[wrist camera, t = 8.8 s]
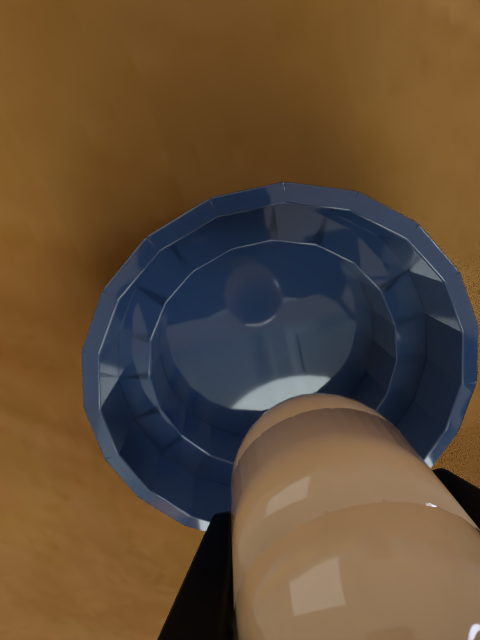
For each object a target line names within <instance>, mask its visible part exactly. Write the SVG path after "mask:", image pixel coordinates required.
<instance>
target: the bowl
mask: <svg viewBox="0 0 480 640" xmlns="http://www.w3.org/2000/svg"><path fill="white" fill-rule="evenodd" d="M477 358H478V323H477V320H476V317H475V314H474V312H473V309H472V306H471V303H470V300H469V297H468V294H467V291H466V288H465V285H464V282H463V279H462V276H461V273H460V272H459V271H458V269H457V268H456V267H455V265H454V264H453V263H452V262H451V261H450V260H449V258H448V257H447V256H446V255H445V254H444V253H443V251H442V250H441V249H440V248H439V247H438V246H437V244H436V243H435V242H434V241H433V240H432V239H431V237H430V236H429V235H428V234H427V233H426V232H425V230H424V229H423V228H422V227H421V226H420V225H419V224H418V223H417V222H415V221H414V220H412V219H410V218H408V217H406V216H404V215H402V214H400V213H398V212H397V211H395V210H393V209H391V208H389V207H387V206H385V205H383V204H381V203H379V202H378V201H376V200H374V199H372V198H370V197H368V196H366V195H364V194H362V193H361V192H356V191H354V190H346V189H339V188H331V187H323V186H315V185H307V184H300V183H292V182H279V183H275V184H270V185H265V186H261V187H256V188H251V189H247V190H242V191H238V192H233V193H228V194H224V195H219V196H214V197H211V198H210V199H206V200H205V201H203V202H202V203H200V204H198V205H197V206H195V207H193V208H192V209H190V210H188V211H187V212H185V213H183V214H182V215H180V216H179V217H177V218H175V219H174V220H172V221H170V222H169V223H167V224H165V225H164V226H162V227H160V228H159V229H157V230H156V231H154V232H152V233H151V234H149V235H148V236H147V237H146V238H144V239H143V241H142V242H141V243H140V244H139V246H138V247H137V248H136V249H135V250H134V252H133V253H132V254H131V255H130V257H129V258H128V259H127V260H126V262H125V263H124V264H123V265H122V266H121V268H120V269H119V270H118V271H117V273H116V274H115V275H114V276H113V278H112V279H111V280H110V281H109V282H108V284H107V285H106V286H105V287H104V289H103V291H102V292H101V295H100V298H99V301H98V304H97V307H96V310H95V313H94V316H93V319H92V322H91V325H90V328H89V331H88V334H87V336H86V339H85V342H84V345H83V348H82V376H83V403H84V409H85V413H86V415H87V417H88V420H89V422H90V425H91V427H92V430H93V432H94V434H95V437H96V439H97V442H98V444H99V446H100V449H101V451H102V454H103V456H104V458H105V460H106V461H107V462H108V464H109V465H110V466H111V467H112V468H113V469H114V470H115V471H116V473H117V474H118V475H119V476H120V477H121V478H122V479H123V480H124V482H125V483H126V484H127V485H128V486H129V487H130V488H131V489H132V491H133V492H134V493H135V494H136V495H137V496H138V497H139V498H140V499H141V500H143V501H145V502H146V503H148V504H149V505H151V506H153V507H154V508H156V509H158V510H159V511H161V512H163V513H164V514H166V515H168V516H169V517H171V518H172V519H174V520H176V521H177V522H179V523H181V524H182V525H184V526H188V527H191V528H195V529H198V530H202V531H205V532H206V530H207V528H208V526H209V523H210V521H211V519H212V517H213V515H215V514H216V513H221V512H226V511H230V512H231V504H230V487H231V478H232V469H233V463H234V461H235V458H236V455H237V452H238V449H239V447H240V444H241V442H242V440H243V438H244V437H245V435H246V433H247V432H248V430H249V429H250V427H251V426H252V425H253V424H254V423H255V422H256V421H257V420H258V419H259V418H260V417H261V416H262V415H263V414H264V413H265V412H266V411H268V410H269V409H270V408H272V407H273V406H274V405H276V404H278V403H280V402H282V401H284V400H286V399H288V398H291V397H295V396H299V395H302V394H311V393H326V394H336V395H340V396H344V397H349V398H352V399H355V400H357V401H359V402H361V403H363V404H365V405H367V406H369V407H371V408H373V409H374V410H376V411H378V412H379V413H380V414H381V415H383V416H384V417H385V418H387V419H388V420H389V421H390V422H391V423H392V424H393V425H394V426H395V427H396V428H397V429H398V430H399V431H400V432H401V433H402V434H403V435H404V436H405V437H406V439H407V440H408V441H409V442H410V444H411V445H412V446H413V447H414V448H415V450H416V451H417V452H418V453H419V455H420V456H421V457H422V458H423V460H424V461H425V462H426V463H427V465H428V466H429V467H430V468H432V467H433V465H434V464H435V463H436V461H437V460H438V459H439V457H440V456H441V455H442V453H443V452H444V451H445V449H446V448H447V447H448V445H449V444H450V443H451V441H452V440H453V439H454V437H455V436H456V435H457V432H458V431H459V428H460V426H461V423H462V420H463V418H464V415H465V412H466V410H467V407H468V404H469V402H470V399H471V396H472V394H473V391H474V388H475V386H476V381H477Z"/></svg>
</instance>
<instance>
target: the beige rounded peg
mask: <svg viewBox="0 0 480 640" xmlns="http://www.w3.org/2000/svg"><path fill="white" fill-rule="evenodd" d="M230 504H231V534H232V566H233V602H234V622H235V630H236V638H237V640H480V529H479V528H478V527H477V525H476V524H475V523H474V522H473V520H472V519H471V518H470V517H469V516H468V514H467V513H466V512H465V511H464V509H463V508H462V507H461V506H460V504H459V503H458V502H457V501H456V499H455V498H454V497H453V496H452V494H451V493H450V492H449V491H448V489H447V488H446V487H445V486H444V484H443V483H442V482H441V481H440V480H439V478H438V477H437V476H436V475H435V473H434V472H433V471H432V470H431V468H430V467H429V466H428V465H427V463H426V462H425V461H424V460H423V458H422V457H421V456H420V455H419V453H418V452H417V451H416V450H415V448H414V447H413V446H412V445H411V444H410V442H409V441H408V440H407V439H406V437H405V436H404V435H403V434H402V433H401V432H400V431H399V430H398V429H397V428H396V427H395V426H394V425H393V424H392V423H391V422H390V421H389V420H388V419H387V418H385V417H384V416H383V415H381V414H380V413H379V412H378V411H376V410H374V409H373V408H371V407H369V406H367V405H365V404H363V403H361V402H359V401H357V400H355V399H352V398H349V397H344V396H340V395H336V394H326V393H311V394H302V395H299V396H295V397H291V398H288V399H286V400H284V401H282V402H280V403H278V404H276V405H274V406H273V407H272V408H270V409H269V410H268V411H266V412H265V413H264V414H263V415H262V416H261V417H260V418H259V419H258V420H257V421H256V422H255V423H254V424H253V425H252V426H251V427H250V429H249V430H248V432H247V433H246V435H245V437H244V438H243V440H242V442H241V444H240V447H239V449H238V452H237V455H236V458H235V461H234V463H233V469H232V478H231V487H230Z"/></svg>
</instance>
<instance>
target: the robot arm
mask: <svg viewBox="0 0 480 640" xmlns="http://www.w3.org/2000/svg"><path fill="white" fill-rule="evenodd" d="M432 471H433V472H434V473H435V475H436V476H437V477H438V478H439V480H440V481H441V482H442V483H443V484H444V486H445V487H446V488H447V489H448V491H449V492H450V493H451V494H452V496H453V497H454V498H455V499H456V501H457V502H458V503H459V504H460V506H461V507H462V508H463V509H464V511H465V512H466V513H467V514H468V516H469V517H470V518H471V519H472V520H473V522H474V523H475V524H476V525H477V527H478V528H479V529H480V489H479V488H478V487H476V486H474V485H472V484H471V483H469V482H467V481H465V480H464V479H462V478H460V477H459V476H457V475H455V474H453V473H452V472H450V471H448V470H446V469H442V468H441V469H435V470H432ZM157 640H237V638H236V630H235V622H234V602H233V566H232V534H231V512H230V511H226V512H221V513H216V514H215V515H213V517H212V519H211V521H210V523H209V526H208V528H207V530H206V532H205V534H204V537H203V539H202V541H201V543H200V546H199V548H198V550H197V552H196V554H195V557H194V559H193V561H192V563H191V566H190V568H189V570H188V572H187V575H186V577H185V579H184V581H183V583H182V586H181V588H180V590H179V592H178V595H177V597H176V599H175V601H174V604H173V606H172V608H171V610H170V612H169V615H168V617H167V619H166V621H165V624H164V626H163V628H162V630H161V632H160V635H159V637H158V639H157Z"/></svg>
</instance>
